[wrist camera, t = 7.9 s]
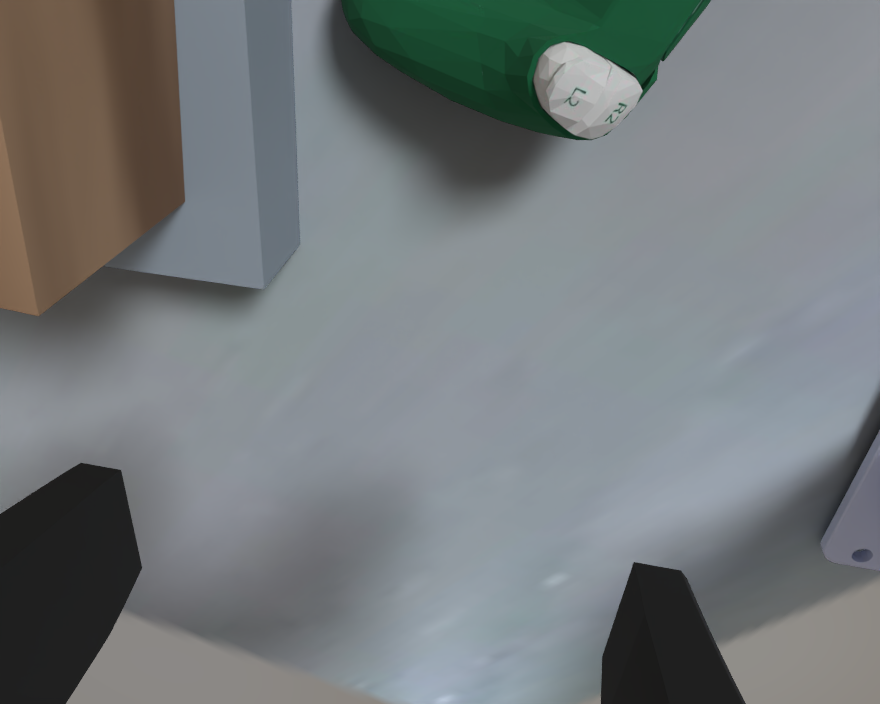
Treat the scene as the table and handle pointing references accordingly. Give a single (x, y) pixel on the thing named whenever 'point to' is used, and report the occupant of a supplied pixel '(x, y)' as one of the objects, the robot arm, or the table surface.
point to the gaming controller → (530, 54)
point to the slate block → (230, 148)
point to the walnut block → (83, 139)
